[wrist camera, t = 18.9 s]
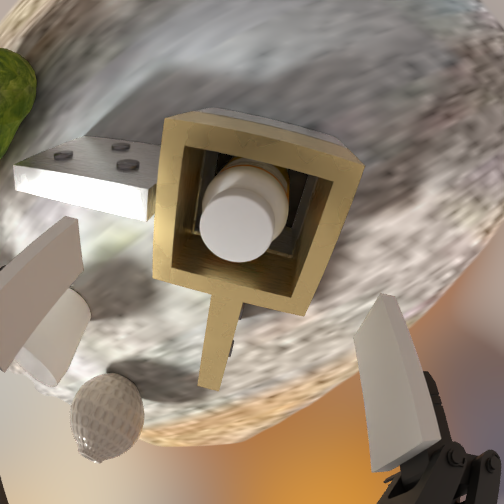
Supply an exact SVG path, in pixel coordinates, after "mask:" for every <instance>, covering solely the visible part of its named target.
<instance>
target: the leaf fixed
mask: <svg viewBox="0 0 504 504" xmlns="http://www.w3.org/2000/svg"><path fill="white" fill-rule="evenodd" d="M195 112H201V113H208V114H213V115H219V116H224V117H230V118H235V119H240V120H245V121H249V122H254V123H258V124H263V125H267V126H271V127H275V128H279V129H283V130H287V131H291V132H295V133H298V134H302V135H306V136H309V137H313V138H316V139H319V140H323V141H326V142H329V143H332V144H336V145H339V146H342V147H345V146H344V145H343V144H342V143H341V142H340V141H339V140H338V139H337V138H336V137H334V136H331V135H328V134H324V133H321V132H318V131H314V130H311V129H307V128H304V127H300V126H297V125H293V124H289V123H285V122H281V121H277V120H273V119H269V118H265V117H260V116H256V115H251V114H246V113H242V112H237V111H231V110H226V109H220V108H215V107H210V108H205V109H201V110H196V111H195ZM345 148H346V147H345ZM160 150H161V146H160V145H154V144H147V143H140V142H133V141H126V140H118V139H110V138H102V137H92V136H82V137H79V138H76V139H73V140H71V141H68V142H65V143H63V144H60V145H58V146H55V147H53V148H50V149H48V150H45V151H43V152H41V153H38V154H36V155H34V156H31V157H29V158H27V159H25V160H23V161H20V162H18V163H16V164H14V165H13V170H14V182H15V190H18V191H22V192H26V193H30V194H34V195H38V196H43V197H47V198H51V199H55V200H59V201H63V202H67V203H72V204H76V205H80V206H84V207H88V208H92V209H96V210H100V211H105V212H109V213H113V214H117V215H121V216H125V217H129V218H133V219H137V220H141V221H145V222H147V221H148V220H149V219H150V218H151V217H152V215H153V214H154V213H155V203H156V190H157V178H158V168H159V158H160ZM218 153H219V152H215V151H210V150H205V151H204V157H203V163H202V169H201V176H200V182H199V189H198V195H197V202H196V209H195V217H194V224H193V232H192V233H193V234H197V235H201V233H200V219H201V216H202V200H203V196H204V193H205V191H206V189H207V187H208V185H209V184H210V182H211V181H212V180H213V179H214V175H215V170H216V164H217V159H218ZM317 180H318V177H317V176H313V175H310V174H308V177H307V180H306V184H305V187H304V190H303V194H302V197H301V200H300V203H299V206H298V210H297V213H296V216H295V219H294V222H293V226H292V228H290V227H286V226H284V228H283V230H282V232H281V233H280V234H279V235H278V236H277V237H276V238H275V239H274V240H273V241H272V242H271V244H270V246H269V248H268V249H267V250H266V251H265V252H269V253H273V254H277V255H281V256H285V257H289V258H292V256H293V253H294V250H295V247H296V244H297V241H298V238H299V235H300V233H301V230H302V227H303V224H304V221H305V217H306V214H307V211H308V208H309V205H310V202H311V199H312V196H313V193H314V190H315V187H316V183H317Z"/></svg>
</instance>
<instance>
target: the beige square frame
mask: <svg viewBox="0 0 504 504" xmlns="http://www.w3.org/2000/svg"><path fill="white" fill-rule="evenodd" d="M205 150H210V151H215V152H220V153H225V154H230V155H234V156H239V157H243V158H247V159H252V160H256V161H260V162H264V163H268V164H272V165H276V166H280V167H284V168H288V169H292V170H295V171H299V172H303V173H306V174H310V175H313V176H317V177H318V180H317V183H316V187H315V190H314V193H313V196H312V199H311V202H310V205H309V208H308V211H307V214H306V217H305V221H304V224H303V227H302V230H301V233H300V235H299V238H298V241H297V244H296V247H295V250H294V253H293V256H292V258H289V257H285V256H281V255H277V254H273V253H269V252H264V253H263V254H262V255H261V256H259V257H258V258H256V259H253V260H251V261H247V262H232V261H228V260H225V259H222V258H220V257H218V256H217V255H215V254H214V253H213V252H212V251H211V250H210V249H209V248H208V247H207V246H206V244H205V243H204V241H203V239H202V236H201V235H197V234H193V233H192V232H193V224H194V217H195V209H196V202H197V195H198V189H199V182H200V176H201V169H202V163H203V157H204V151H205ZM364 167H365V165H364V164H363V163H362V162H361V161H360V160H359V159H358V158H357V157H356V156H355V155H354V154H353V153H352V152H351V151H350V150H349V149H348V148H345V147H342V146H339V145H336V144H332V143H329V142H326V141H323V140H319V139H316V138H313V137H309V136H306V135H302V134H298V133H295V132H291V131H287V130H283V129H279V128H275V127H271V126H267V125H263V124H258V123H254V122H249V121H245V120H240V119H235V118H230V117H224V116H219V115H213V114H208V113H201V112H195V111H191V112H187V113H182V114H178V115H174V116H171V117H167V118H165V119H164V126H163V134H162V141H161V150H160V158H159V168H158V178H157V190H156V203H155V218H154V239H153V278H154V279H158V280H161V281H165V282H168V283H172V284H175V285H179V286H182V287H186V288H190V289H193V290H197V291H201V292H205V293H208V294H212V296H211V302H210V308H209V314H208V320H207V326H206V332H205V339H204V345H203V351H202V358H201V365H200V371H199V378H198V385H197V386H200V387H204V388H208V389H212V390H216V391H219V389H220V385H221V381H222V378H223V374H224V370H225V367H226V363H227V359H228V357H230V356H231V352H232V348H233V344H234V340H233V337H234V333H235V330H236V326H237V322H238V320H241V317H242V313H243V309H244V305H245V303H248V304H252V305H256V306H260V307H265V308H269V309H273V310H278V311H282V312H286V313H291V314H295V315H300V316H305V313H306V311H307V309H308V307H309V305H310V303H311V300H312V298H313V296H314V294H315V291H316V289H317V287H318V285H319V282H320V280H321V278H322V275H323V273H324V271H325V269H326V266H327V264H328V261H329V259H330V257H331V254H332V252H333V249H334V247H335V245H336V242H337V240H338V237H339V235H340V232H341V230H342V227H343V224H344V222H345V219H346V217H347V214H348V212H349V209H350V206H351V204H352V201H353V198H354V195H355V193H356V190H357V187H358V184H359V182H360V179H361V176H362V173H363V170H364Z"/></svg>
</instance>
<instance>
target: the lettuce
mask: <svg viewBox="0 0 504 504" xmlns="http://www.w3.org/2000/svg"><path fill="white" fill-rule="evenodd" d="M36 85H37V81H36V76H35V71H34V70H33V68H32V67H31V65H30V64H29V62H28V61H26V60H25V59H24V58H23V57H21V56H20V55H19V54H17V53H15V52H13V51H10V50H8V49H4V48H0V159H1V158H2V157H3V156H4V154H5V153H6V151H7V149H8V147H9V145H10V143H11V141H12V140H13V137H14V135H15V133H16V131H17V129H18V127H19V125H20V123H21V122H22V121H23V119H24V118H25V117H26V116H27V114H28V113H29V112H30V111H31V109H32V107H33V104H34V101H35V98H36Z"/></svg>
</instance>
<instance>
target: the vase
mask: <svg viewBox="0 0 504 504" xmlns="http://www.w3.org/2000/svg"><path fill="white" fill-rule="evenodd" d="M143 424H144V407H143V402H142V398H141V396H140V394H139V391H138V389H137V387H136V386H135V385H134V384H133V383H132V382H131V381H130V380H128V379H127V378H125V377H123V376H121V375H119V374H115V373H107V374H103V375H99V376H96V377H94V378H92V379H90V380H89V381H87V382H86V383H85V384H84V385H82V386H81V387H80V389H79V390H78V392H77V393H76V395H75V397H74V399H73V402H72V405H71V409H70V425H71V430H72V433H73V436H74V439H75V441H76V443H77V445H78V452H79V453H80V454H81V455H82V456H84V457H85V458H87V459H89V460H91V461H93V462H95V463H101V462H102V461H104V460H107V459H111V458H115V457H117V456H120V455H121V454H123V453H125V452H126V451H128V450H129V449H130V448H131V447H132V446H133V445H134V444H135V443H136V441H137V440H138V438H139V436H140V434H141V431H142V428H143Z"/></svg>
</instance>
